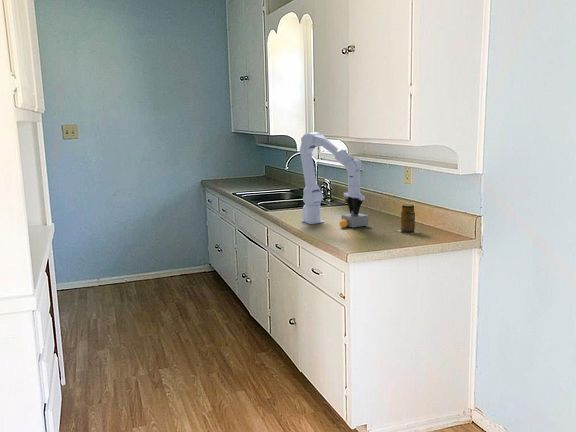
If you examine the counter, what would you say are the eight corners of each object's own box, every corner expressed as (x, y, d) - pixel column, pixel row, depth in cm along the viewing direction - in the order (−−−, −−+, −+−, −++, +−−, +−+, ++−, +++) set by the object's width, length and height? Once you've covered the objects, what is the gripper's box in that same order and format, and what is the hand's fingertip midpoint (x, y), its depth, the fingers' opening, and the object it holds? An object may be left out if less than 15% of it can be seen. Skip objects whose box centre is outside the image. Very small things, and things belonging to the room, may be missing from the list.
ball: (345, 222, 269) (341, 228, 268) (341, 216, 267) (336, 223, 266) (351, 223, 265) (346, 230, 265) (346, 218, 263) (341, 225, 263)
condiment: (411, 229, 258) (411, 203, 256) (420, 233, 250) (420, 206, 248) (396, 230, 256) (396, 204, 254) (405, 234, 248) (405, 207, 246)
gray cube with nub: (341, 224, 271) (341, 210, 270) (357, 222, 275) (356, 208, 274) (352, 227, 263) (352, 213, 262) (368, 225, 267) (368, 211, 266)
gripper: (370, 185, 261) (370, 214, 264) (352, 182, 274) (352, 210, 276) (357, 187, 258) (358, 216, 260) (339, 184, 270) (340, 212, 273)
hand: (354, 213), depth 268 cm, fingers closed on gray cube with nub, 2 cm apart
